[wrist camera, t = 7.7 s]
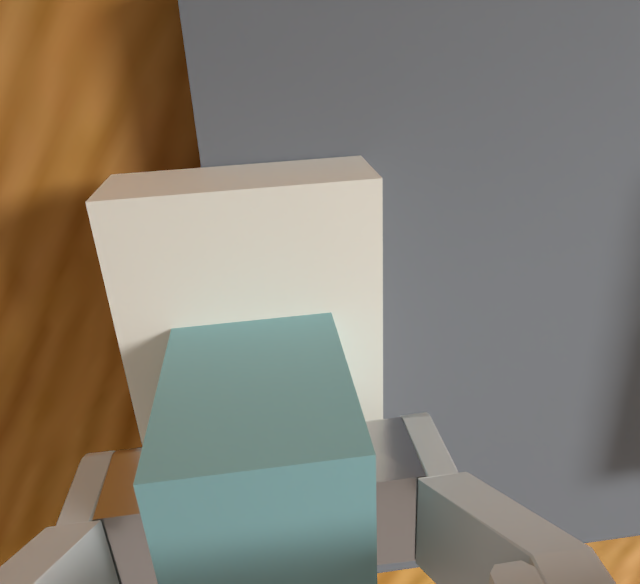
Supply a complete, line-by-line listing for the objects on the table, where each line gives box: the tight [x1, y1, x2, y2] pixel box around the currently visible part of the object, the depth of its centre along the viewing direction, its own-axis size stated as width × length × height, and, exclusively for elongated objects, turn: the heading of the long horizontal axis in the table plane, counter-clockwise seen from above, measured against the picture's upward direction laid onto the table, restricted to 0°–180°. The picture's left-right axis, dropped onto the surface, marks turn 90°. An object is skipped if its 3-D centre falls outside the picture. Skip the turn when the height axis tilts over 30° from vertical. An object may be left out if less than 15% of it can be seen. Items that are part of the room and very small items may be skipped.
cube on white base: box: [85, 155, 383, 584], centre depth 11 cm, size 9×5×6 cm, turn 3°
